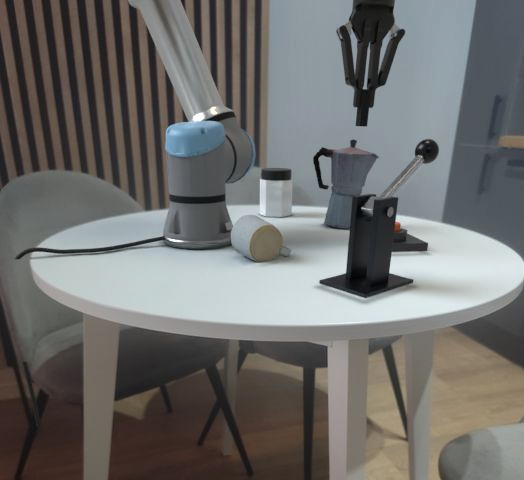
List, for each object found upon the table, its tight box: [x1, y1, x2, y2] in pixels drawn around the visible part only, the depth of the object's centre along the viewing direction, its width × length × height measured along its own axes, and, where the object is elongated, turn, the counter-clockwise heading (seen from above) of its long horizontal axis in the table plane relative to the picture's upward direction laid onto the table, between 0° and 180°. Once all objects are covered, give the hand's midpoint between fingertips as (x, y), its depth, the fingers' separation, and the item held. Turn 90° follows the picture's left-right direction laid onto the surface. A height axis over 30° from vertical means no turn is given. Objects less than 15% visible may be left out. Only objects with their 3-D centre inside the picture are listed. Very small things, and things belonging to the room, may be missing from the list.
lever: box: [361, 138, 440, 222], centre depth 75 cm, size 17×4×4 cm
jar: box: [259, 167, 294, 218], centre depth 136 cm, size 9×8×12 cm
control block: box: [392, 227, 429, 253], centre depth 101 cm, size 12×10×4 cm
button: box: [394, 221, 401, 232], centre depth 100 cm, size 4×4×2 cm
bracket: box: [318, 193, 414, 299], centre depth 76 cm, size 12×9×14 cm
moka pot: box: [312, 139, 380, 230], centre depth 120 cm, size 10×15×20 cm, turn 89°
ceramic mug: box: [231, 214, 292, 263], centre depth 92 cm, size 11×8×8 cm
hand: (361, 126), depth 99 cm, fingers closed
